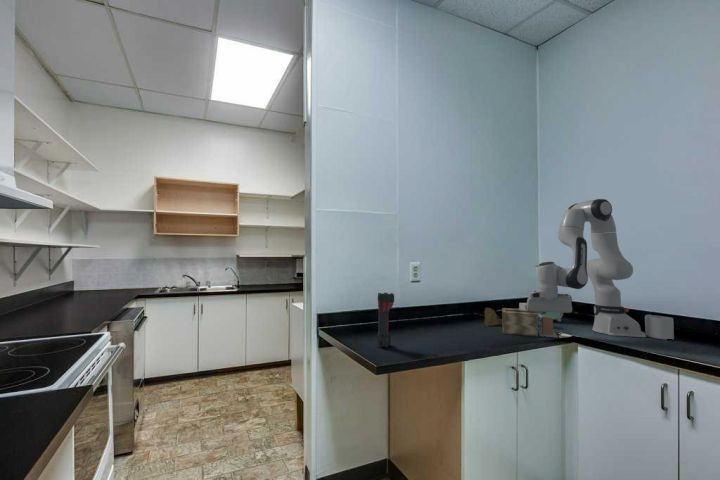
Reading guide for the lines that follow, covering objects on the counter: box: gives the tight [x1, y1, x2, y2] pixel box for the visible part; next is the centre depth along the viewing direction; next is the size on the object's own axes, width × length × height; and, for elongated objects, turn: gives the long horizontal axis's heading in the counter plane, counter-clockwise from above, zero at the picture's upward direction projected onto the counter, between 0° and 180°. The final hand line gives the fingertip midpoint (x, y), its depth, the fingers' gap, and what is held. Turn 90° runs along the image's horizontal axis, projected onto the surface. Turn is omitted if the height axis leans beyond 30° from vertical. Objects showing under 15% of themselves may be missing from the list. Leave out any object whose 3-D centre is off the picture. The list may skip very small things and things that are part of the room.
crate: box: [501, 307, 539, 338], centre depth 174 cm, size 16×14×11 cm
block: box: [541, 317, 554, 335], centre depth 168 cm, size 4×4×8 cm
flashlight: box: [376, 292, 395, 348], centre depth 146 cm, size 8×8×23 cm
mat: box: [538, 330, 559, 339], centre depth 168 cm, size 8×10×1 cm
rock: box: [484, 307, 501, 327], centre depth 191 cm, size 11×9×10 cm
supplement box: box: [518, 302, 539, 322], centre depth 191 cm, size 7×7×13 cm
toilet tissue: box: [644, 314, 675, 340], centre depth 166 cm, size 11×12×10 cm
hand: (549, 320), depth 169 cm, fingers open, 7 cm apart
